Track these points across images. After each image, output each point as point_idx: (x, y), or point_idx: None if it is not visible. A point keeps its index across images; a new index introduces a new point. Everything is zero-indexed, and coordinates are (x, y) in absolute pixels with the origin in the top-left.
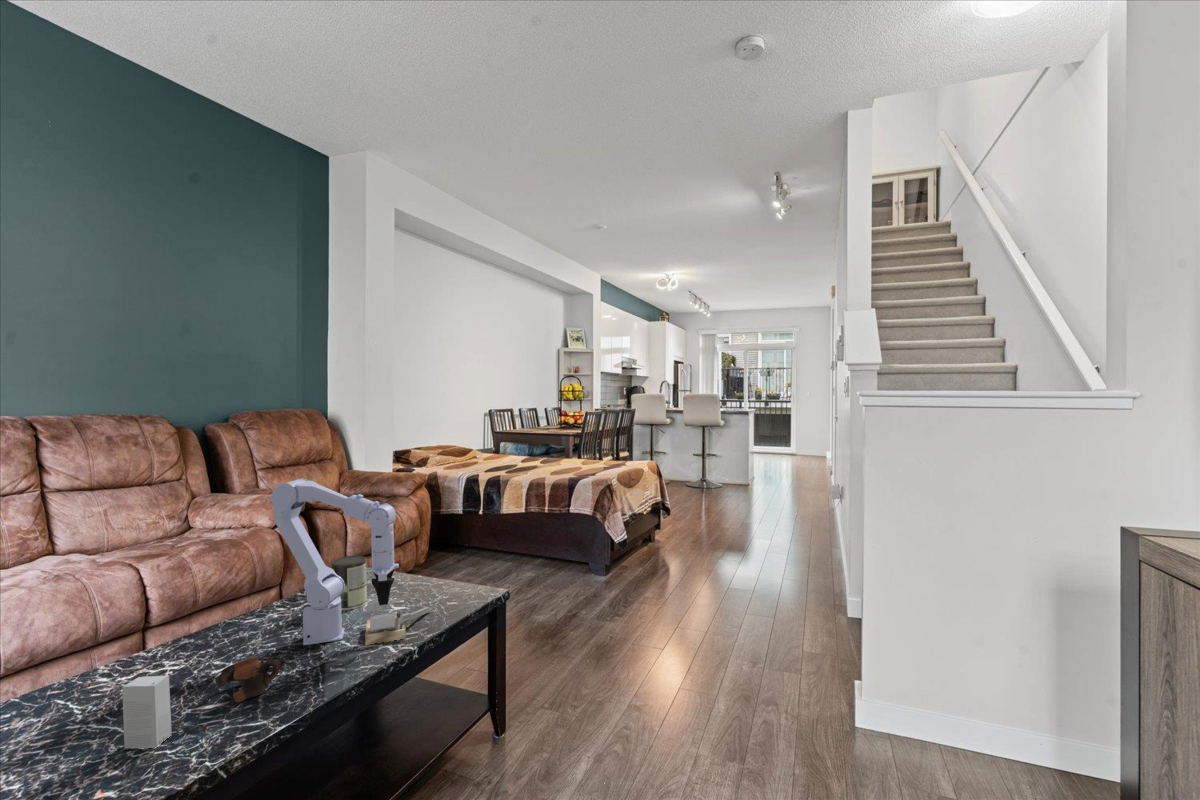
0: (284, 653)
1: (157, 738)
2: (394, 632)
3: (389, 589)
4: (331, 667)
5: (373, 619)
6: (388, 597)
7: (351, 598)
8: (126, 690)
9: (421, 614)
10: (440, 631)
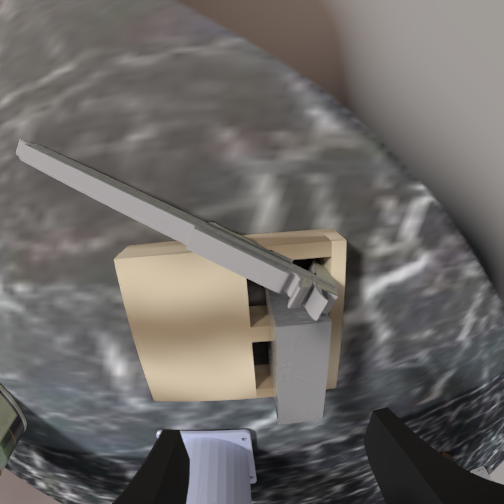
0: (283, 490)
1: (486, 471)
2: (343, 288)
3: (461, 471)
4: (422, 401)
5: (323, 407)
6: (415, 435)
7: (2, 422)
8: None
9: (94, 171)
10: (295, 72)
